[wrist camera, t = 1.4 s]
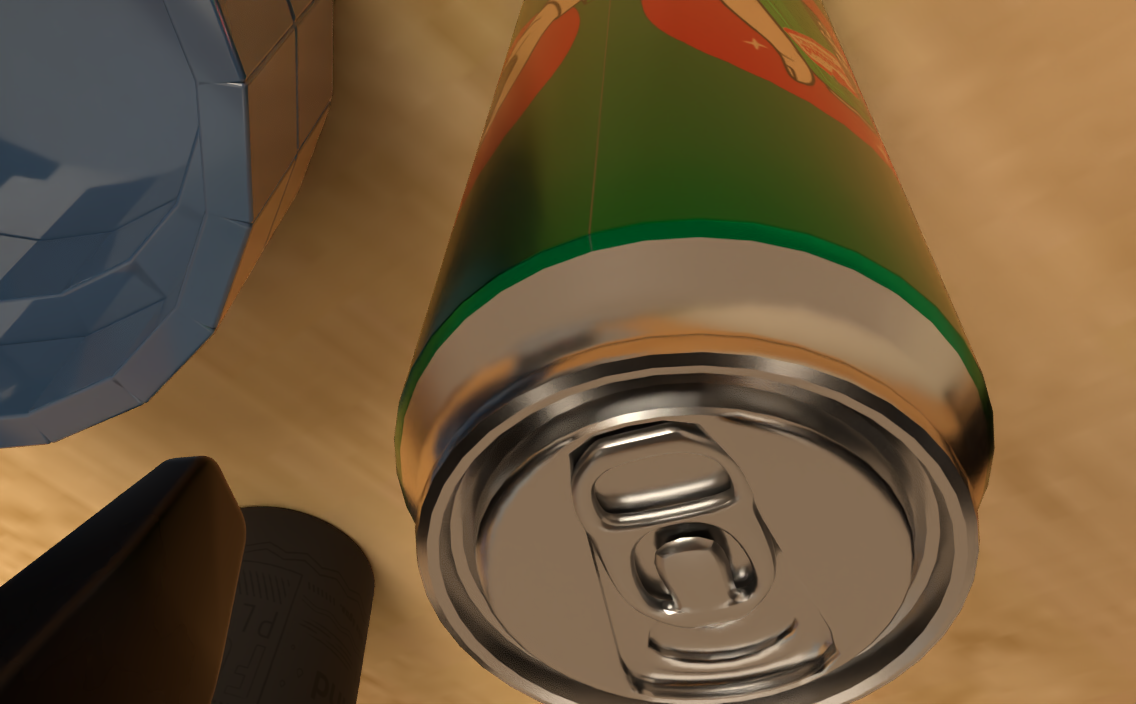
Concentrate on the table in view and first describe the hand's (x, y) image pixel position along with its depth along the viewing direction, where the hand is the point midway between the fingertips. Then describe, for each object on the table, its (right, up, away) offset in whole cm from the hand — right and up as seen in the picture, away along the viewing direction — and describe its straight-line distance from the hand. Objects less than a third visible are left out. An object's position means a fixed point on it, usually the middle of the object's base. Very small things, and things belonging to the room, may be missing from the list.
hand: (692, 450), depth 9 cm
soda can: (+1, +6, +9) cm, 11 cm away
